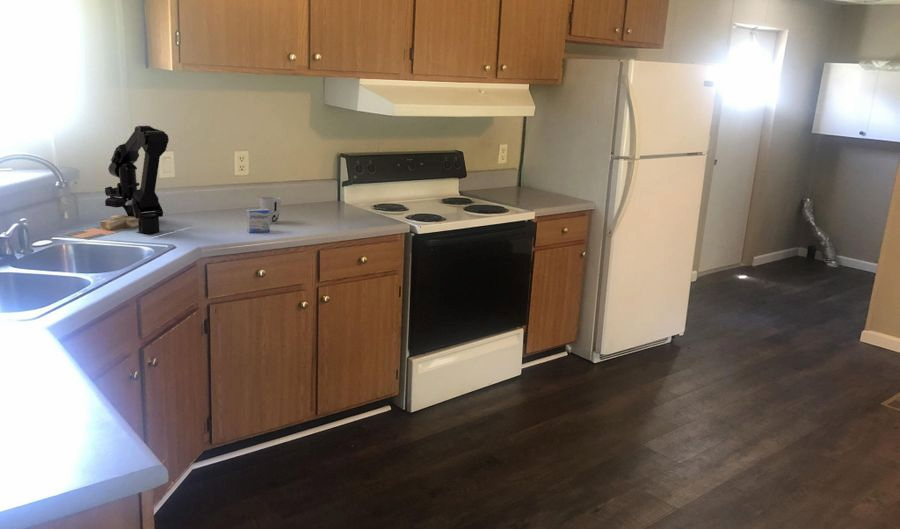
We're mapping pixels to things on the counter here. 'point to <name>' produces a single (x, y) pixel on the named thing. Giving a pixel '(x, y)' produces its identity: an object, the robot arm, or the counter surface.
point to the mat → (96, 232)
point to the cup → (271, 207)
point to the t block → (119, 222)
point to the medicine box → (258, 220)
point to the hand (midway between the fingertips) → (131, 221)
